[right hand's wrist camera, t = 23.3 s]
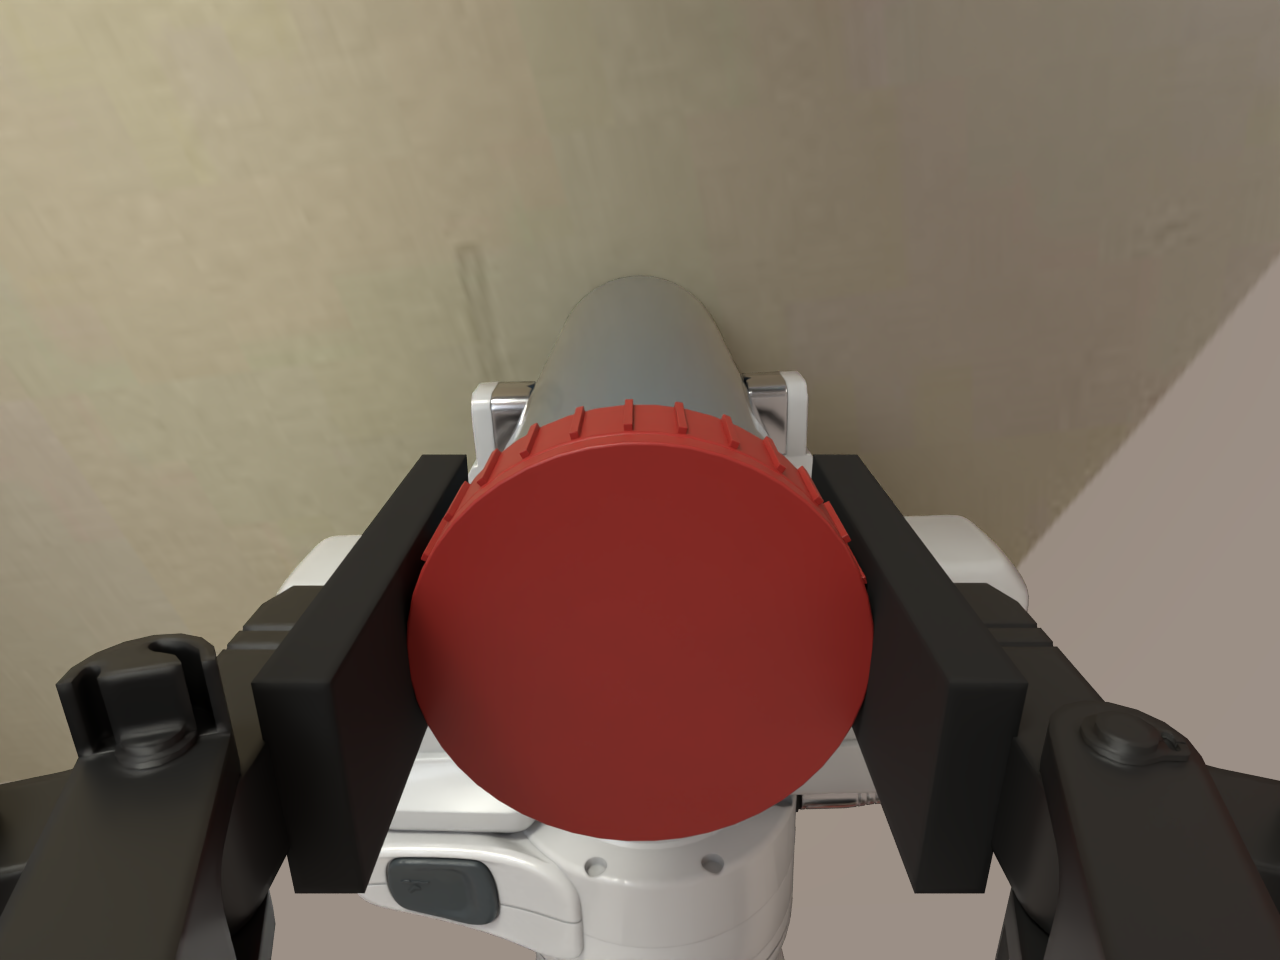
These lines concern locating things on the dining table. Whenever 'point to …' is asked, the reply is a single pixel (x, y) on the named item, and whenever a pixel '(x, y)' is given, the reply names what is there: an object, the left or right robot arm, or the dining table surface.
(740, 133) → the dining table surface
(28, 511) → the dining table surface
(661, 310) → the jar
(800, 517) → the lid
